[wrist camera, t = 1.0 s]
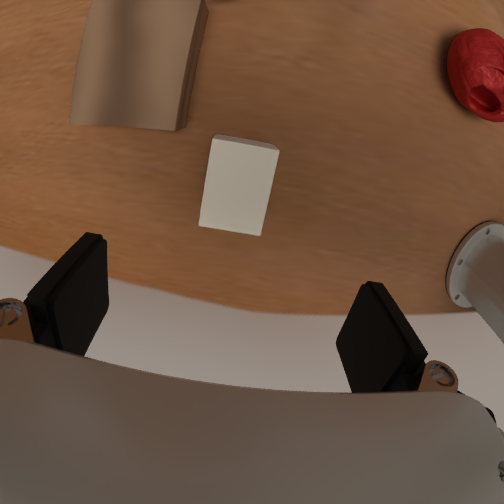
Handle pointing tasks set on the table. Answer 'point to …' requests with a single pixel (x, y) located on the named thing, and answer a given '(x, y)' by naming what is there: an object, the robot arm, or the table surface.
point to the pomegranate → (478, 72)
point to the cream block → (238, 184)
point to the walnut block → (138, 63)
